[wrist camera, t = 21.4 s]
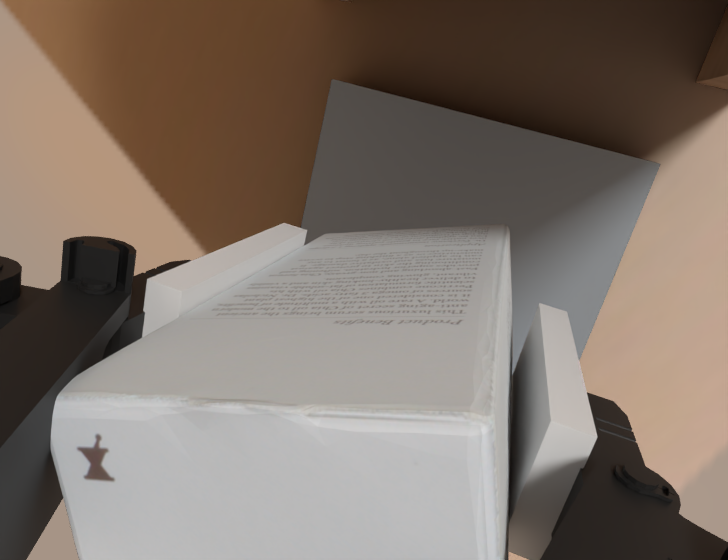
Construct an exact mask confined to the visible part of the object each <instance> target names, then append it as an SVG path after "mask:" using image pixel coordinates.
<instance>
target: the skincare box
mask: <svg viewBox="0 0 728 560" xmlns="http://www.w3.org/2000/svg"><path fill="white" fill-rule="evenodd" d="M512 363H513V329H512V286H511V255H510V231H509V227H508V226H507V225H506V224H493V225H473V226H455V227H437V228H417V229H400V230H381V231H365V232H348V233H328V234H324V235H322V236H320V237H318V238H317V239H315V240H313V241H311V242H310V243H308V244H306V245H304V246H303V247H301V248H299V249H297V250H295V251H294V252H292V253H290V254H289V255H287V256H285V257H283V258H282V259H280V260H278V261H276V262H274V263H273V264H271V265H270V266H268V267H266V268H264V269H263V270H261V271H259V272H258V273H256V274H254V275H252V276H251V277H249V278H247V279H245V280H244V281H242V282H240V283H238V284H236V285H235V286H233V287H231V288H229V289H228V290H226V291H224V292H222V293H221V294H219V295H217V296H215V297H213V298H211V299H210V300H208V301H206V302H205V303H203V304H201V305H199V306H197V307H196V308H194V309H192V310H191V311H189V312H187V313H185V314H184V315H182V316H180V317H179V318H177V319H175V320H173V321H171V322H170V323H168V324H166V325H164V326H162V327H161V328H159V329H157V330H155V331H153V332H152V333H150V334H148V335H146V336H144V337H143V338H141V339H139V340H137V341H135V342H134V343H132V344H130V345H128V346H126V347H125V348H123V349H121V350H119V351H117V352H116V353H114V354H112V355H110V356H109V357H107V358H105V359H104V360H102V361H100V362H99V363H97V364H95V365H93V366H92V367H90V368H88V369H87V370H85V371H83V372H82V373H80V374H78V375H77V376H76V377H74V378H73V379H72V380H71V381H70V382H69V383H68V384H67V385H66V386H65V387H64V388H63V390H62V391H61V392H60V393H59V394H58V396H57V398H56V401H55V405H54V410H53V417H52V427H51V453H52V457H53V461H54V465H55V468H56V472H57V476H58V480H59V483H60V487H61V491H62V495H63V498H64V502H65V506H66V510H67V514H68V517H69V522H70V525H71V530H72V534H73V538H74V542H75V546H76V550H77V554H78V557H79V560H508V546H509V484H510V435H511V398H512Z"/></svg>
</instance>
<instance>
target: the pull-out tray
mask: <svg viewBox="0 0 728 560" xmlns="http://www.w3.org/2000/svg"><path fill="white" fill-rule="evenodd" d="M659 166H660V164H659V163H655V162H652V161H648V160H644V159H640V158H636V157H633V156H629V155H625V154H621V153H617V152H613V151H609V150H606V149H602V148H598V147H594V146H590V145H586V144H582V143H579V142H575V141H571V140H567V139H563V138H559V137H555V136H551V135H548V134H544V133H540V132H536V131H532V130H528V129H524V128H521V127H517V126H513V125H509V124H505V123H501V122H497V121H494V120H490V119H486V118H482V117H478V116H474V115H470V114H467V113H463V112H459V111H455V110H451V109H447V108H443V107H439V106H436V105H432V104H428V103H424V102H420V101H416V100H412V99H409V98H405V97H401V96H397V95H393V94H389V93H385V92H382V91H378V90H374V89H370V88H366V87H362V86H358V85H354V84H351V83H347V82H343V81H339V80H334V79H332V81H331V86H330V90H329V95H328V100H327V105H326V109H325V114H324V119H323V124H322V128H321V133H320V138H319V143H318V147H317V152H316V157H315V162H314V167H313V171H312V176H311V181H310V186H309V190H308V195H307V200H306V205H305V209H304V214H303V219H302V224H301V228H302V229H305V230H307V234H306V238H305V243H304V245H306V244H308V243H310V242H311V241H313V240H315V239H317V238H318V237H320V236H322V235H324V234H328V233H348V232H365V231H381V230H400V229H417V228H437V227H455V226H473V225H493V224H506V225H507V226H508V227H509V231H510V255H511V286H512V329H513V363H512V375H513V372H514V370H515V367H516V364H517V362H518V359H519V356H520V354H521V351H522V348H523V345H524V343H525V340H526V337H527V335H528V332H529V329H530V327H531V324H532V321H533V319H534V316H535V313H536V311H537V308H538V305H539V303H541V304H544V305H547V306H551V307H554V308H557V309H560V310H563V311H567V314H568V318H569V322H570V326H571V330H572V334H573V338H574V342H575V346H576V351H577V355H578V359H579V360H580V357H581V355H582V352H583V350H584V348H585V345H586V343H587V340H588V338H589V336H590V333H591V331H592V328H593V326H594V323H595V321H596V319H597V316H598V314H599V311H600V309H601V307H602V304H603V302H604V299H605V297H606V295H607V292H608V290H609V287H610V285H611V282H612V280H613V278H614V275H615V273H616V270H617V268H618V266H619V263H620V261H621V258H622V256H623V253H624V251H625V249H626V246H627V244H628V241H629V239H630V237H631V234H632V232H633V229H634V227H635V224H636V222H637V220H638V217H639V215H640V212H641V210H642V208H643V205H644V203H645V200H646V198H647V195H648V193H649V191H650V188H651V186H652V183H653V181H654V179H655V176H656V174H657V171H658V169H659Z"/></svg>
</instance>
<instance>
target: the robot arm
mask: <svg viewBox="0 0 728 560" xmlns="http://www.w3.org/2000/svg"><path fill="white" fill-rule="evenodd" d="M306 234H307V230H305V229H302V228H299V227H296V226H293V225H289V224H286V223H282V224H280V225H277V226H275V227H272V228H270V229H268V230H265V231H263V232H260V233H258V234H255V235H253V236H251V237H248V238H246V239H243V240H241V241H238V242H236V243H234V244H231V245H229V246H226V247H224V248H221V249H219V250H217V251H214V252H212V253H209V254H207V255H204V256H202V257H200V258H198V259H195V260H192V261H191V260H184V261H174V262H169V263H167V264H164V265H161V266H159V267H157V268H156V269H155V268H154V269H151V270H149V271H146V273H141V274H138V275H136V276H134V266H135V258H136V250H135V249H134V247H133V246H131V245H129V244H127V243H125V242H122V241H119V240H115V239H111V238H103V237H91V236H83V237H74V238H70V239H67V240H65V241H63V255H62V270H61V281H60V282H59V283H57V284H56V285H55V286H54V287H52V288H51V289H50V290H45V289H39V288H35V287H29V286H24V285H21V271H22V267H21V265H20V264H19V263H18V262H16V261H14V260H12V259H9V258H6V257H1V256H0V560H26V559H27V557H28V556H29V554H30V552H31V551H32V549H33V547H34V546H35V544H36V542H37V541H38V539H39V537H40V536H41V534H42V532H43V531H44V529H45V527H46V526H47V524H48V522H49V521H50V519H51V517H52V515H53V514H54V512H55V510H56V509H57V507H58V505H59V504H60V502H61V500H62V499H63V495H62V491H61V487H60V483H59V480H58V476H57V472H56V468H55V465H54V461H53V457H52V453H51V427H52V417H53V410H54V405H55V401H56V398H57V396H58V394H59V393H60V392H61V391H62V390H63V388H64V387H65V386H66V385H67V384H68V383H69V382H70V381H71V380H72V379H73V378H74V377H76V376H77V375H78V374H80V373H82V372H83V371H85V370H87V369H88V368H90V367H92V366H93V365H95V364H97V363H99V362H100V361H102V360H104V359H105V358H107V357H109V356H110V355H112V354H114V353H116V352H117V351H119V350H121V349H123V348H125V347H126V346H128V345H130V344H132V343H134V342H135V341H137V340H139V339H141V338H143V337H144V336H146V335H148V334H150V333H152V332H153V331H155V330H157V329H159V328H161V327H162V326H164V325H166V324H168V323H170V322H171V321H173V320H175V319H177V318H179V317H180V316H182V315H184V314H185V313H187V312H189V311H191V310H192V309H194V308H196V307H197V306H199V305H201V304H203V303H205V302H206V301H208V300H210V299H211V298H213V297H215V296H217V295H219V294H221V293H222V292H224V291H226V290H228V289H229V288H231V287H233V286H235V285H236V284H238V283H240V282H242V281H244V280H245V279H247V278H249V277H251V276H252V275H254V274H256V273H258V272H259V271H261V270H263V269H264V268H266V267H268V266H270V265H271V264H273V263H274V262H276V261H278V260H280V259H282V258H283V257H285V256H287V255H289V254H290V253H292V252H294V251H295V250H297V249H299V248H301V247H303V246H304V243H305V238H306ZM635 441H636V439H635V436H634V433H633V432H632V428H631V425H630V422H629V420H628V417H627V415H626V414H625V413H624V412H623V411H622V410H621V409H620V408H619V407H618V406H617V405H616V404H615V403H614V401H611V400H608V399H605V398H602V397H599V396H596V395H593V394H590V393H587V392H586V388H585V383H584V379H583V375H582V371H581V367H580V363H579V359H578V355H577V351H576V346H575V342H574V338H573V334H572V330H571V326H570V322H569V318H568V314H567V311H563V310H560V309H557V308H554V307H551V306H547V305H544V304H541V303H539V305H538V308H537V311H536V313H535V316H534V319H533V321H532V324H531V327H530V329H529V332H528V335H527V337H526V340H525V343H524V345H523V348H522V351H521V354H520V356H519V359H518V362H517V364H516V367H515V370H514V372H513V375H512V398H511V435H510V484H509V546H508V551H509V552H512V553H514V554H517V555H519V556H522V557H524V558H527V559H529V560H728V542H726V541H724V540H723V539H721V538H719V537H717V536H715V535H713V534H711V533H710V532H708V531H706V530H704V529H702V528H701V527H699V526H697V525H695V524H694V523H692V522H690V521H689V520H687V519H685V518H684V517H683V516H681V515H680V514H679V510H680V506H681V504H680V498H679V495H678V494H677V493H676V491H675V490H674V488H673V487H672V486H671V485H670V484H669V483H668V482H667V481H666V480H664V479H663V478H662V477H661V476H660V475H659V474H657V473H655V472H654V471H652V470H650V469H649V468H647V467H646V466H645V464H644V461H643V458H642V455H641V453H640V450H639V447H638V444H637V443H636V442H635Z"/></svg>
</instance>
